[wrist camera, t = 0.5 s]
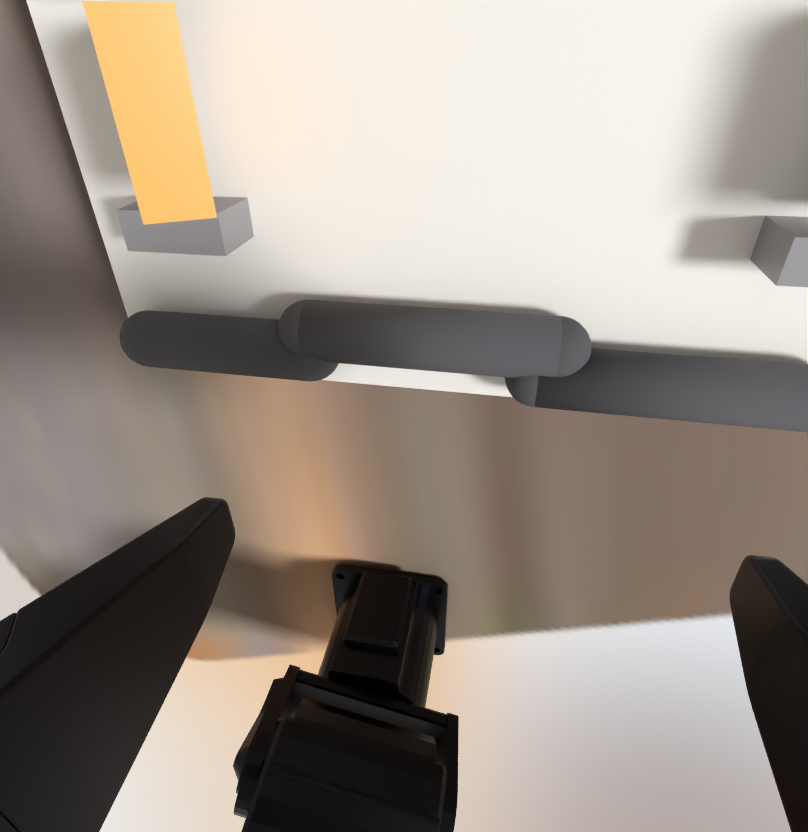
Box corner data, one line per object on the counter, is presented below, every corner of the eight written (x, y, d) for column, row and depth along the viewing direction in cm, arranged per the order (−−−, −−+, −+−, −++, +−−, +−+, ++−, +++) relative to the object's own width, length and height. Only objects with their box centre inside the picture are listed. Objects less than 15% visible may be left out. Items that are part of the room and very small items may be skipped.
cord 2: (821, 411, 17) (851, 449, 16) (150, 353, 21) (119, 379, 19) (865, 324, 16) (904, 357, 14) (128, 278, 19) (91, 300, 18)
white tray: (780, 377, 20) (843, 463, 16) (182, 331, 24) (111, 389, 20) (1158, -483, 10) (1597, -851, 6) (9, -322, 14) (-208, -474, 10)
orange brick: (207, 183, 17) (219, 226, 13) (152, 187, 16) (146, 233, 12) (171, 5, 14) (171, -12, 10) (105, 4, 14) (78, -13, 10)
